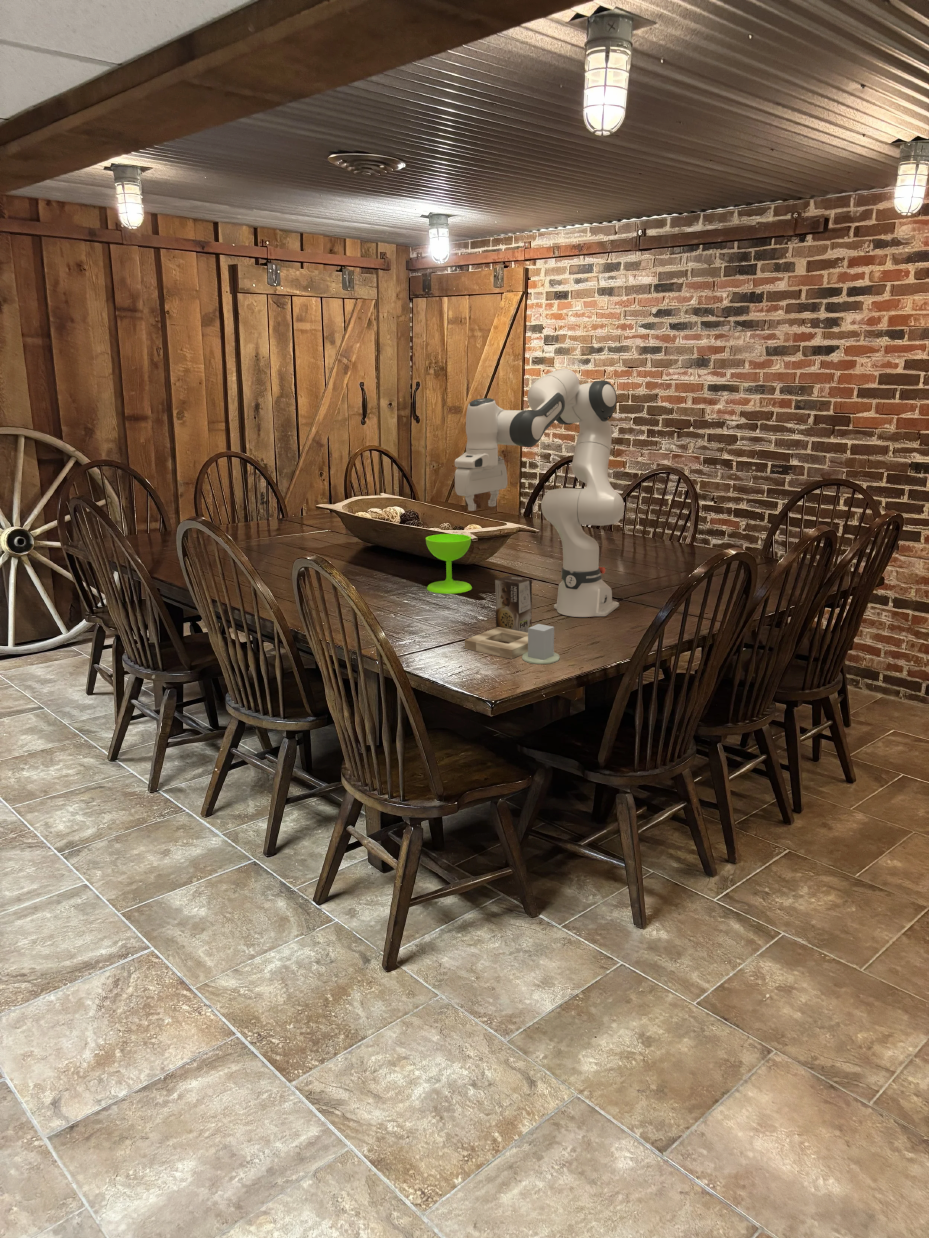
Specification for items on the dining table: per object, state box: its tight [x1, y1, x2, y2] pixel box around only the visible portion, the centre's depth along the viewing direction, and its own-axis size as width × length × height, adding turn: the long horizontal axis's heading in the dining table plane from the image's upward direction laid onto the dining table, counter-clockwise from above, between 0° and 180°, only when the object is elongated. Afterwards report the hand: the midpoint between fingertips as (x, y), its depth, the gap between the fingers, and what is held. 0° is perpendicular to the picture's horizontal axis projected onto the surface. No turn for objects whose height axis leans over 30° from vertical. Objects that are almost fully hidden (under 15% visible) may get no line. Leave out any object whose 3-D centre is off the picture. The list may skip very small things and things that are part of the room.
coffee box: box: [494, 575, 533, 633], centre depth 267 cm, size 9×6×16 cm
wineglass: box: [425, 533, 473, 595], centre depth 321 cm, size 16×16×18 cm
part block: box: [528, 623, 555, 660], centre depth 244 cm, size 5×5×8 cm
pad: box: [521, 652, 560, 665], centre depth 245 cm, size 10×10×1 cm
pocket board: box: [464, 627, 528, 660], centre depth 256 cm, size 16×16×2 cm
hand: (482, 508), depth 258 cm, fingers open, 8 cm apart
